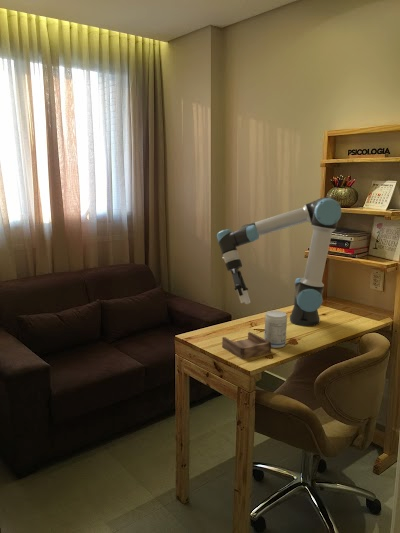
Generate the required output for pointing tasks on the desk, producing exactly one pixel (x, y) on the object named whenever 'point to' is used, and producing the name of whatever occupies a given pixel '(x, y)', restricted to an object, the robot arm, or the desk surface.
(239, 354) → the tray
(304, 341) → the desk surface
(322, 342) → the desk surface
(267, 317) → the supplement tub
